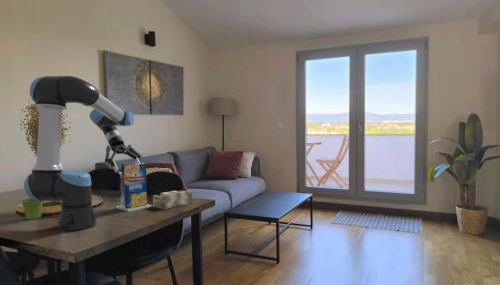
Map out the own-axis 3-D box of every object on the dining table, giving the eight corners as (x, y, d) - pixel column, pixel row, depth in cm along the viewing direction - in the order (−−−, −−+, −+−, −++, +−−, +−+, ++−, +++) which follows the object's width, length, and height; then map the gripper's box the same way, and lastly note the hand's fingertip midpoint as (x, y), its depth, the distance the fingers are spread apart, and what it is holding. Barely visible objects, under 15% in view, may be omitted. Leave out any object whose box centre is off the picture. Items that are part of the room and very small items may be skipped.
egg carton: (163, 209, 182) (163, 195, 181) (153, 206, 188) (152, 193, 188) (191, 203, 195) (191, 190, 195) (181, 201, 201) (180, 188, 201)
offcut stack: (164, 205, 186) (164, 194, 186) (159, 204, 190) (158, 193, 189) (183, 201, 195) (183, 191, 195) (177, 200, 198) (177, 190, 198)
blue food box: (147, 205, 187) (146, 163, 186) (125, 208, 181) (124, 165, 180) (143, 203, 193) (142, 162, 191) (122, 205, 187) (121, 163, 186)
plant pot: (40, 220, 163) (39, 201, 163) (17, 221, 162) (17, 202, 161) (48, 215, 173) (47, 197, 172) (27, 216, 171) (26, 197, 171)
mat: (128, 211, 177) (128, 210, 177) (116, 207, 186) (115, 206, 186) (151, 207, 187) (151, 205, 187) (138, 203, 196) (138, 202, 196)
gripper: (133, 143, 211) (147, 171, 202) (90, 145, 193) (104, 176, 183) (137, 135, 207) (152, 162, 198) (94, 136, 189) (108, 167, 179)
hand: (129, 169), depth 190 cm, fingers open, 13 cm apart
